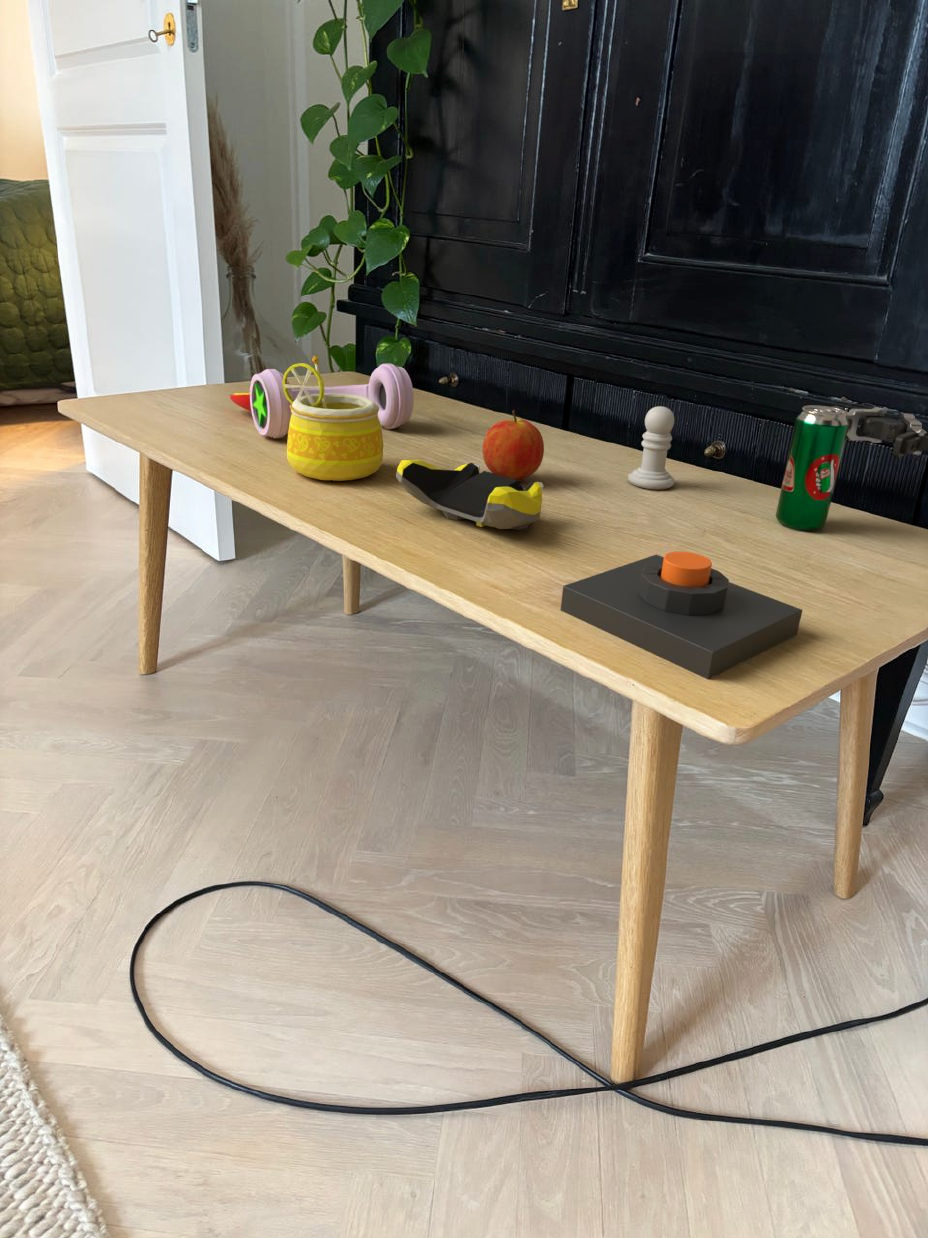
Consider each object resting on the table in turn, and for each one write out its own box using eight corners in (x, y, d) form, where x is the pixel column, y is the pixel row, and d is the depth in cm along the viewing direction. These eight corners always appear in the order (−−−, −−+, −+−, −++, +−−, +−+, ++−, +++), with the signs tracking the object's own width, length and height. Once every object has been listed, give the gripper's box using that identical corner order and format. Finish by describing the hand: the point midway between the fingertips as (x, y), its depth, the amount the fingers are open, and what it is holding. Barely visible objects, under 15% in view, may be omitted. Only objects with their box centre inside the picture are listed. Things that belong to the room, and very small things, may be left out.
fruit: (529, 470, 108) (535, 403, 105) (549, 487, 102) (556, 417, 99) (473, 471, 107) (477, 403, 103) (491, 489, 101) (495, 417, 97)
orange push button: (717, 583, 70) (721, 561, 69) (689, 594, 68) (693, 572, 67) (679, 568, 72) (682, 547, 72) (651, 578, 70) (654, 557, 69)
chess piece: (672, 493, 103) (685, 413, 99) (625, 487, 104) (636, 408, 100) (674, 480, 108) (686, 404, 104) (629, 474, 109) (639, 399, 105)
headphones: (271, 382, 108) (220, 334, 122) (270, 459, 113) (222, 405, 127) (418, 374, 117) (355, 331, 132) (411, 446, 123) (352, 397, 137)
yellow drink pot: (400, 479, 102) (403, 371, 97) (308, 490, 97) (306, 376, 92) (353, 451, 112) (353, 351, 107) (267, 459, 107) (263, 354, 102)
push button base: (797, 635, 71) (808, 588, 69) (707, 680, 63) (717, 628, 62) (652, 577, 80) (659, 534, 78) (560, 610, 72) (565, 564, 71)
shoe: (501, 552, 83) (564, 528, 90) (505, 494, 81) (570, 474, 88) (386, 511, 92) (451, 492, 99) (386, 458, 90) (453, 442, 97)
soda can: (776, 513, 98) (800, 401, 93) (825, 521, 97) (852, 408, 92) (772, 527, 94) (796, 411, 89) (823, 535, 92) (851, 418, 87)
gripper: (865, 377, 112) (804, 391, 102) (988, 399, 103) (934, 417, 93) (850, 437, 115) (790, 457, 105) (968, 463, 106) (915, 488, 96)
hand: (858, 438), depth 99 cm, fingers open, 8 cm apart
